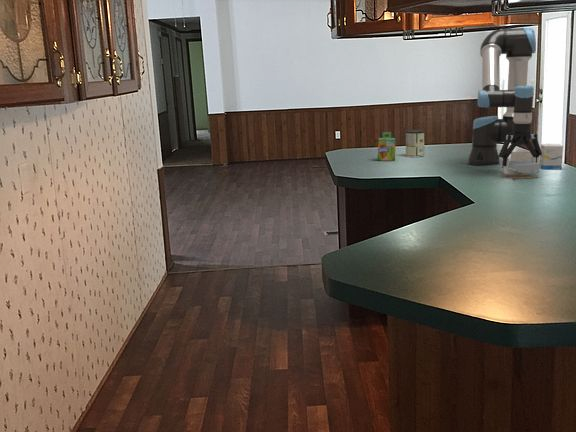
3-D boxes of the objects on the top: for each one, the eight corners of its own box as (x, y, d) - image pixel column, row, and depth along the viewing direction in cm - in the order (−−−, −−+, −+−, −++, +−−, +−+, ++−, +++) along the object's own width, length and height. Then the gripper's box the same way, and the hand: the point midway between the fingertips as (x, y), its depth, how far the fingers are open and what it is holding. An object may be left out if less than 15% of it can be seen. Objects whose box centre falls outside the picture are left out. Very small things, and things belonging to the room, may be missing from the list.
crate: (509, 171, 290) (511, 151, 288) (525, 170, 292) (526, 150, 290) (522, 174, 281) (523, 154, 279) (538, 173, 282) (539, 153, 280)
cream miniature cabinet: (409, 154, 354) (409, 129, 351) (426, 155, 349) (427, 129, 346) (402, 156, 346) (402, 131, 343) (420, 157, 340) (420, 131, 337)
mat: (501, 176, 277) (501, 174, 276) (523, 175, 279) (523, 173, 279) (513, 180, 267) (513, 178, 267) (536, 178, 269) (537, 176, 269)
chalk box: (377, 161, 331) (378, 133, 328) (377, 158, 340) (377, 131, 337) (395, 161, 330) (396, 133, 326) (394, 158, 339) (395, 131, 335)
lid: (499, 167, 277) (499, 161, 276) (524, 166, 279) (524, 160, 278) (514, 171, 265) (515, 165, 264) (540, 170, 267) (540, 163, 267)
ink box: (561, 171, 287) (563, 145, 285) (542, 170, 289) (544, 145, 286) (557, 168, 296) (559, 143, 293) (538, 168, 297) (540, 143, 295)
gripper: (501, 124, 262) (498, 175, 266) (552, 122, 266) (549, 172, 271) (491, 123, 269) (489, 173, 274) (542, 120, 274) (539, 169, 278)
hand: (519, 172), depth 272 cm, fingers closed on lid, 12 cm apart
